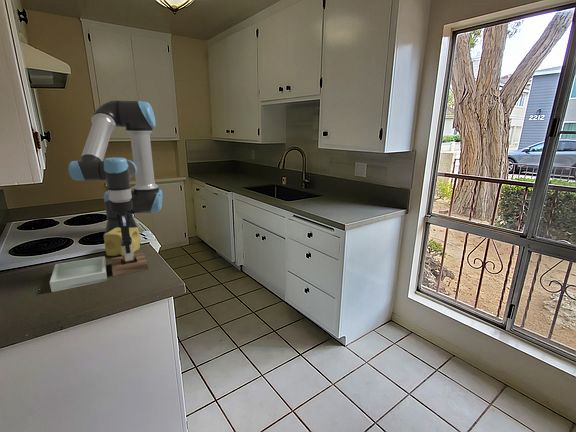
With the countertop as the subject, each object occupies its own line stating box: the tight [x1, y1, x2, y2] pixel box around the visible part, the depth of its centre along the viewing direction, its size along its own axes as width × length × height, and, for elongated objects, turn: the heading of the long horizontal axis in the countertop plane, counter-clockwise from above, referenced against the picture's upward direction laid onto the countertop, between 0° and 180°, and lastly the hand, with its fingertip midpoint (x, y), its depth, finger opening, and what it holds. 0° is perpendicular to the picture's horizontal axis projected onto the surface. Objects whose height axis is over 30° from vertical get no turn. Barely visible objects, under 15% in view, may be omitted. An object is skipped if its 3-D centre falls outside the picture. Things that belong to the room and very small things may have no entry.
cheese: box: [103, 226, 141, 257], centre depth 134 cm, size 10×11×10 cm
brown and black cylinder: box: [120, 239, 135, 264], centre depth 119 cm, size 4×4×11 cm
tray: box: [49, 255, 108, 293], centre depth 112 cm, size 16×16×4 cm
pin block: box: [110, 252, 149, 277], centre depth 120 cm, size 12×12×2 cm
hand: (128, 257), depth 120 cm, fingers closed on brown and black cylinder, 4 cm apart
